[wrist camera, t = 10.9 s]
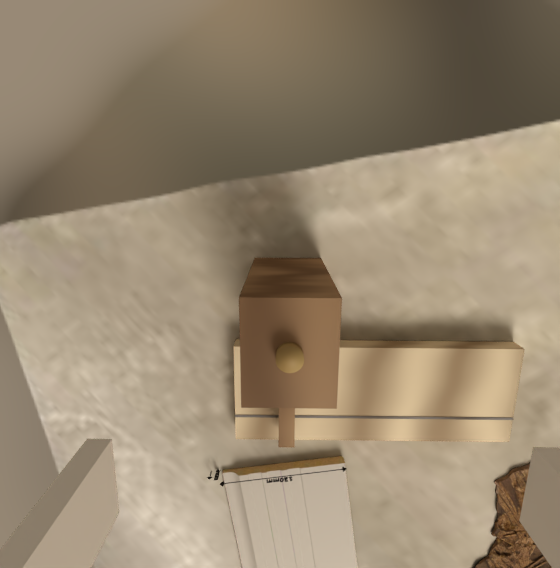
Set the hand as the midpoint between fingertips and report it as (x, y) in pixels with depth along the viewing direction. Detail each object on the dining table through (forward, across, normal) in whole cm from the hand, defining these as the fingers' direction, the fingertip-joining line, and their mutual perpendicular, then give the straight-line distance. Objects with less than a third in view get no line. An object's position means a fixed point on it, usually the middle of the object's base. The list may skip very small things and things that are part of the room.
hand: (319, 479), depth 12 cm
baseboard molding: (+20, 0, +30) cm, 36 cm away
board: (+19, -6, +7) cm, 21 cm away
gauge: (+19, +1, +3) cm, 19 cm away
